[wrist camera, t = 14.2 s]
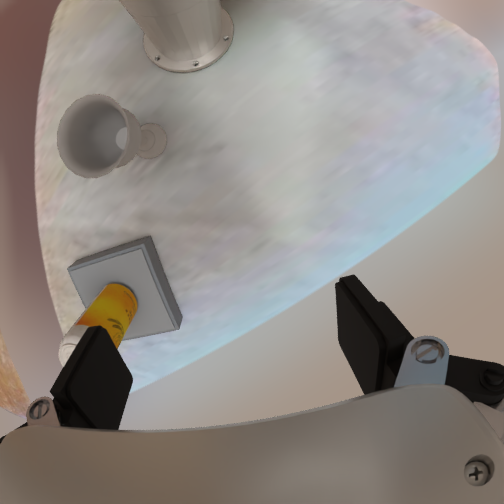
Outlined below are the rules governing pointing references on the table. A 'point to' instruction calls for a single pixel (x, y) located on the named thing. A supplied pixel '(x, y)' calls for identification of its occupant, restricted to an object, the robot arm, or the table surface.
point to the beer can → (102, 318)
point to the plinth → (131, 285)
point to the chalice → (104, 137)
